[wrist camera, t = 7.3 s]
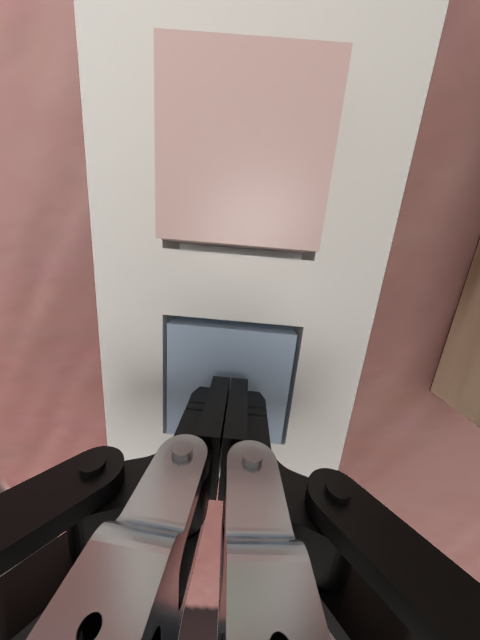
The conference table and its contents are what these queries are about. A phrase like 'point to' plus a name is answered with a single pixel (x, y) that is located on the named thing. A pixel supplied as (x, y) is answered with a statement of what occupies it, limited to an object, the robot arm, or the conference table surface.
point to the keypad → (238, 263)
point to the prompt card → (463, 352)
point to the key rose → (245, 137)
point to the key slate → (229, 363)
